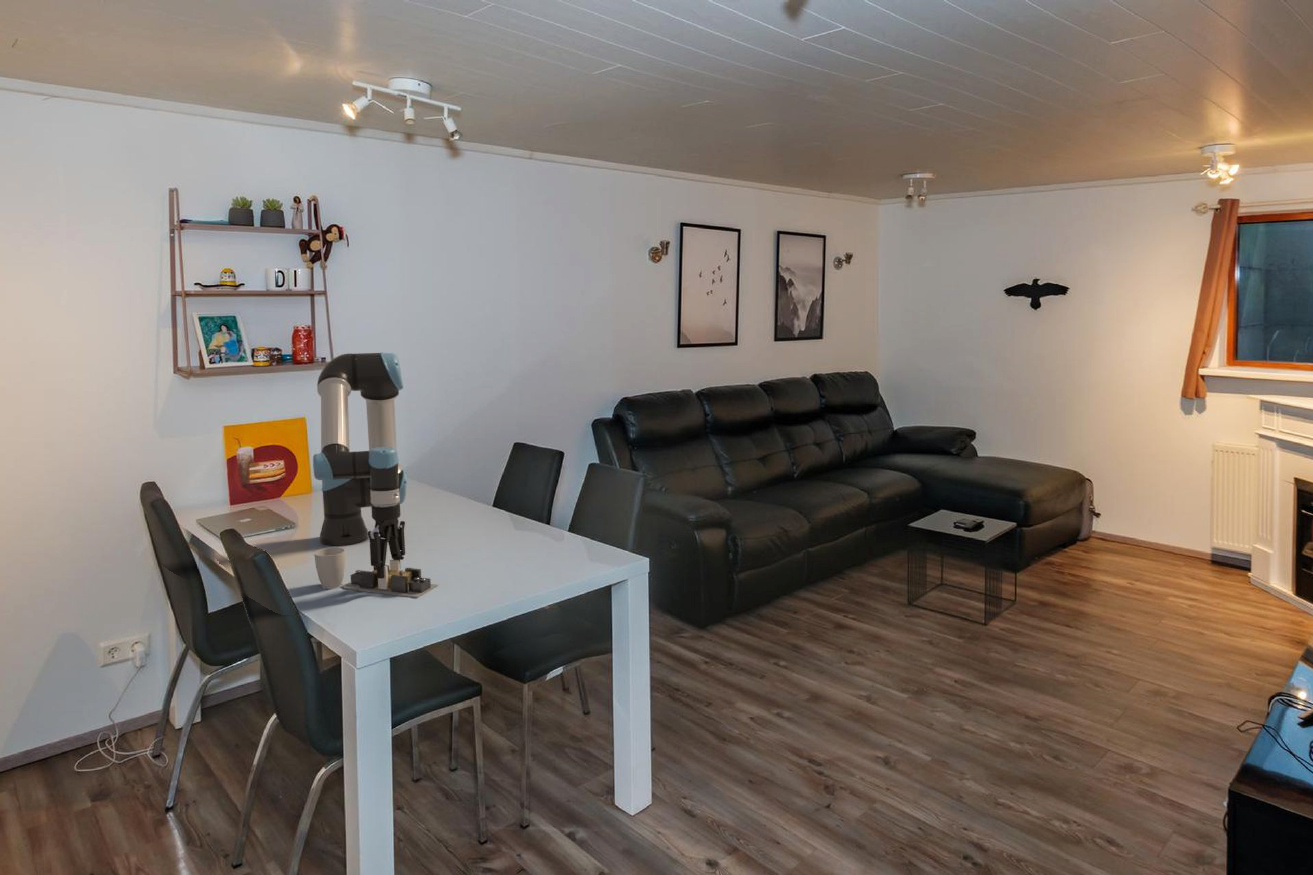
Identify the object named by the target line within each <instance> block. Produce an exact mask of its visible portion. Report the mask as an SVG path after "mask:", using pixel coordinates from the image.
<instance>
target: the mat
mask: <svg viewBox="0 0 1313 875" xmlns="http://www.w3.org/2000/svg"><path fill="white" fill-rule="evenodd" d="M437 587H439V584H437V583H436V584H435V583H431V588H429V589H428V590H426V591H424V592H422V593H418V592H410V591H409V588H408V592H407V593H400V592H392V589H390V588H389V589H387V590H385V589H379V588H378V587H375V588H374V589H368V588H360V587H359V585H355V584H351V582H350V583H348V584H347V585H344V586H343V587H342V589H343V590H350V591H351V590H353V591H361V592H365V593H367V592H368V593H375V594H376V593H377V594H382V595H383V594H384V595H391V596H396V597H397V596H399V597H407V598H416V599H418V598H421V597H422V596H423V595H426V594H427V593H428V592H431V591H432V590H434V589H435V588H437Z"/></svg>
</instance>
